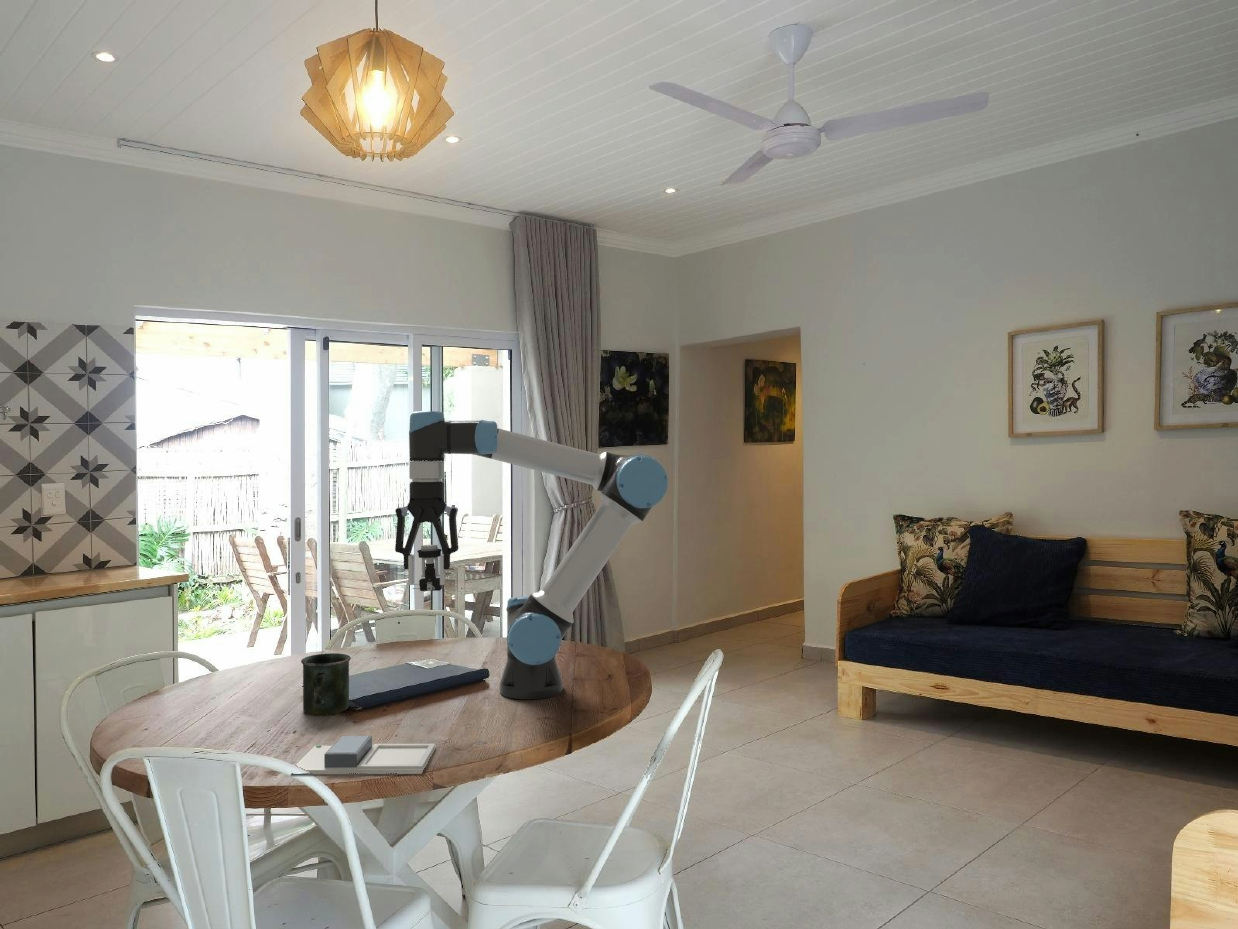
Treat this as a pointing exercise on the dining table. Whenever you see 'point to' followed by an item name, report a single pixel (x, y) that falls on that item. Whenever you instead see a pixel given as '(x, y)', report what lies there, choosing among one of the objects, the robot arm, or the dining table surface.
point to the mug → (325, 683)
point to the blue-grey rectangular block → (347, 751)
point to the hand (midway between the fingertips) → (427, 584)
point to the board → (375, 760)
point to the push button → (429, 568)
